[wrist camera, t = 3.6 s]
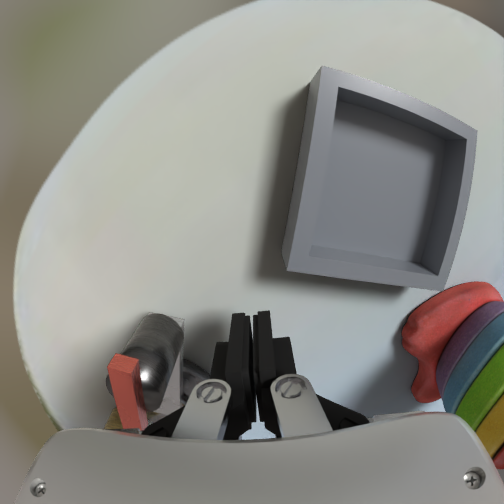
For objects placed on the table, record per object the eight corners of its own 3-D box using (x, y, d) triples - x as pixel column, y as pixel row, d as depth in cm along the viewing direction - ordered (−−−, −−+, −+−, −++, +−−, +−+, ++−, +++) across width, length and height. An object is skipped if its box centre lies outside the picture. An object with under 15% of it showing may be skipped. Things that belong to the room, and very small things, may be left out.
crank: (194, 423, 17) (180, 493, 11) (146, 413, 17) (123, 478, 11) (201, 296, 14) (170, 383, 8) (134, 284, 14) (75, 355, 8)
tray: (420, 273, 15) (442, 291, 12) (281, 252, 14) (286, 270, 12) (450, 132, 12) (477, 130, 10) (310, 82, 12) (321, 65, 9)
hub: (217, 425, 19) (215, 436, 18) (134, 407, 19) (129, 417, 17) (225, 365, 17) (223, 377, 16) (123, 344, 16) (117, 355, 15)
